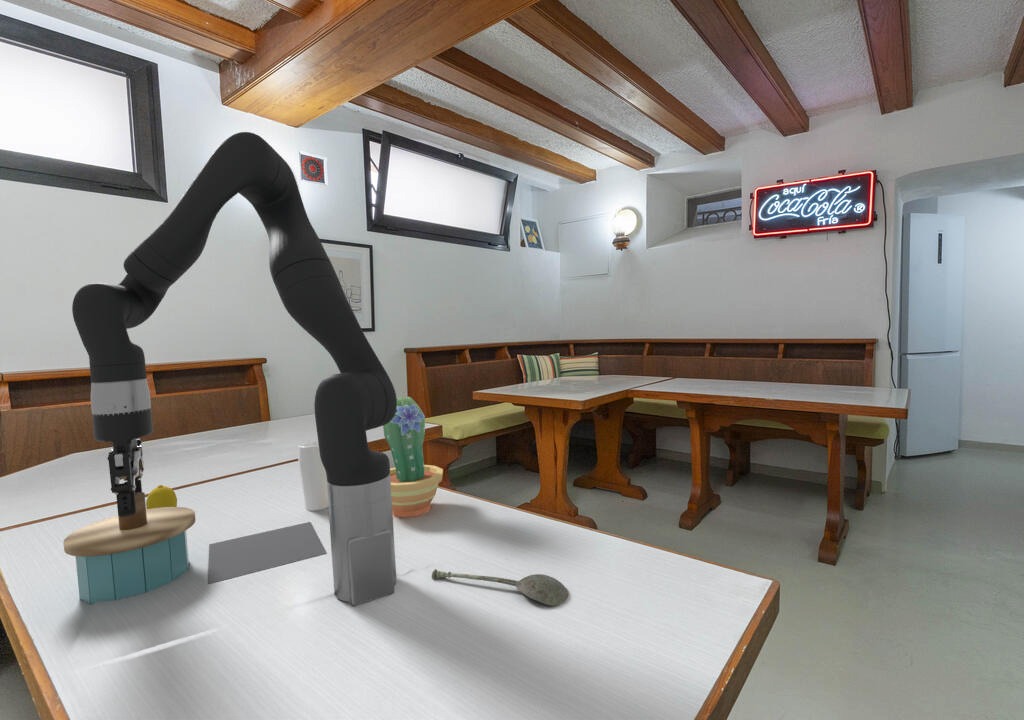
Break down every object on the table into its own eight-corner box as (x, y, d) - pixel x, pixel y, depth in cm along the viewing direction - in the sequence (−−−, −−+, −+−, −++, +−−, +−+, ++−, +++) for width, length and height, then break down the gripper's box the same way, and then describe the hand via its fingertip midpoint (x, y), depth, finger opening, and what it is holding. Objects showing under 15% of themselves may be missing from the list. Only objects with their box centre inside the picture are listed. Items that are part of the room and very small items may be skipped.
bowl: (186, 584, 78) (181, 536, 78) (70, 614, 71) (65, 560, 70) (190, 552, 90) (186, 510, 90) (92, 575, 83) (87, 529, 82)
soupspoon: (562, 619, 66) (574, 596, 72) (563, 595, 66) (574, 574, 72) (423, 589, 74) (444, 570, 80) (423, 567, 74) (444, 550, 80)
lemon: (184, 515, 110) (181, 481, 110) (164, 525, 105) (161, 489, 104) (161, 516, 111) (159, 481, 110) (141, 525, 105) (137, 489, 105)
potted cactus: (362, 522, 101) (354, 403, 100) (390, 497, 116) (384, 393, 115) (434, 523, 99) (427, 401, 98) (453, 497, 114) (448, 391, 113)
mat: (327, 556, 86) (326, 553, 86) (207, 587, 77) (207, 584, 77) (310, 524, 102) (310, 521, 102) (209, 546, 92) (209, 544, 92)
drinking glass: (327, 513, 108) (322, 446, 107) (296, 514, 108) (291, 447, 107) (338, 502, 114) (334, 439, 113) (310, 503, 114) (305, 440, 114)
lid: (193, 536, 77) (190, 498, 77) (49, 567, 68) (45, 524, 68) (197, 506, 92) (194, 474, 91) (78, 528, 83) (75, 493, 83)
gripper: (145, 410, 75) (154, 516, 76) (155, 401, 87) (163, 492, 88) (81, 417, 71) (91, 528, 72) (101, 406, 83) (110, 501, 84)
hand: (131, 508), depth 80 cm, fingers open, 7 cm apart
